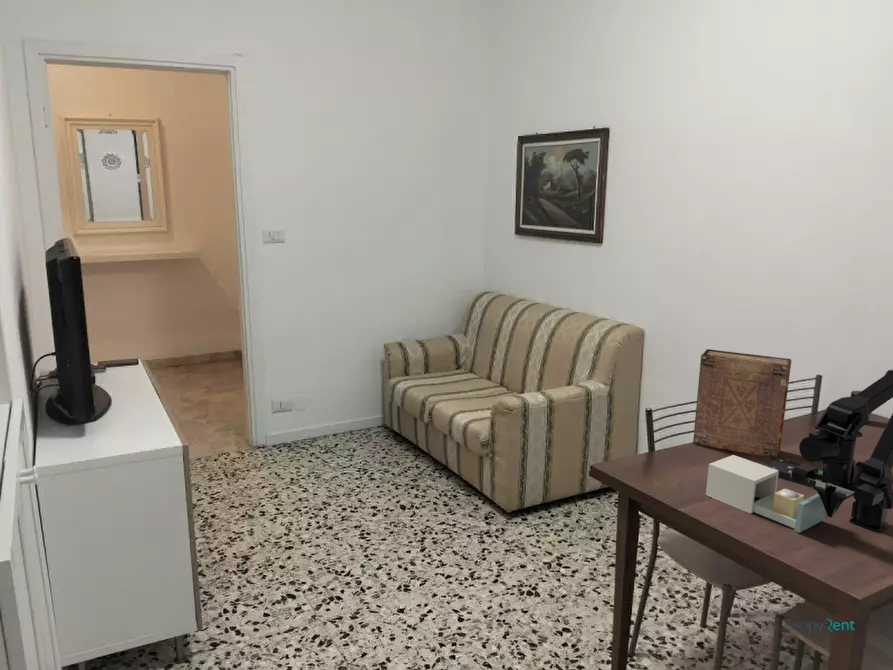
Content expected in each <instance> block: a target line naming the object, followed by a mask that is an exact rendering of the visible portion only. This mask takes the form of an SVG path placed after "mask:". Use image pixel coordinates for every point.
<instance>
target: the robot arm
mask: <svg viewBox="0 0 893 670" xmlns="http://www.w3.org/2000/svg"><path fill="white" fill-rule="evenodd" d="M860 391H861V392H860V393H858V394H857V395H855V396H851V395H850V396H851V397H850V396H844V397H840V398H839V399H835V400H834V401H832V402H831V403H829V404H828V406H827V407H826V408H825V410H824V412H823V413H822V415H821V416H820V417H819V419H818V421H817V423H816V424H815V426H814V429H815V430H817V431H814V430H813V431H810V432H809V433H808V436H806V437H803V439H801V441H800V443H799V445H798V447H799V449H798V450H799V453H800V455H801V457H802V458H803V459H804V460H806V461H807V462H809V463H816V462H821V463H822V464H823V469H822V470H823V474H820V473H818V472H819V470H818V469H819V468H818V467H816V466H813V465H810V464H807V463H805V462H804V463H800V464H801V465H798V466H796V467H794V468H792V470H791V475H790V477H791V478H792V479H794V480H797V481H800V482H803V481H805V480H807V478H809V479H812V480H815V481H816V485H815V486H814V488H813V490H815V491H816V492H817V494H819V496H820V498H821V500H822V502H823V505H824V508H825V510H824V511H825V512H826V516H827V517H828V518H831V519H832V518H834V516H835V515H836V513H837V511H838V510H839V508H840V506H841V505H842V504H843V502H844V501H846V500H847V499H850V498H852V497H853V499H854V501H852V506H851V507H852V508H851V515H850V516H851V518H849V522H850V523H852V524H855V525H857V526H861V527H863V528H865V529H868V530H871V531H874V532H877V533H878V532H879V531H881V530H882V528H883V529H884V528H885V526H886V527H887V526H888V525H889V523H888V522H887V515H888V511H889V510H892V509H893V489H892V487H893V471H892V469H893V412H892V414H891V416H890V418H889V419H888V421H887V423H886V425H885V427H884V430H883V431H882V433H881V435H880V437H879V439H878V441H877V442H876V445H875V447H874V449H873V451H872V453H871V455H870V457H869V458H868V459H866V460H864V461H860V460H858V461H857V462H856V459H854V458H855V457H854V456H855V450H856V444H857V443H856V442H857V439H858V438H862V437H863V435H864V434H863V433H862V432H861V431H860V430H861V429H862V428H863V427H864V426H865V425H866V424H868V423H869V421H870V416H871V414H872V413H873V412H874V411H875V410H877V409H879V408H880V407H881V406H883V405H884V404H885V403H887V402H888V401H889V400H891V399H892V398H893V369H889V370H887V371H885V374H884V375H883V376H882V377H880V378H879V379H877V380H876V381H875V382H873V383H872V384H870V385H869V386H867V387H866V388H864V389H863V390H860ZM867 422H868V423H867ZM829 424H830V425H829Z"/></svg>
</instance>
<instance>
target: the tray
mask: <svg viewBox="0 0 893 670" xmlns="http://www.w3.org/2000/svg"><path fill="white" fill-rule="evenodd" d="M773 500H774V496H773V495H769V496H766V497H764V498H762V499H761V498H759V499H758V500H754V506H753V513H755V514H757V515H761V516H762V517H765V518H767V519H771V520H773V521H775V522H777V523H780V524H782V525H785V526H787V527H789V528H792V529H794V531H795V532H796V533H799V534H800V533H802V532H804V531H806V530H808V529H809V528H811V527H814V526H815V525H817V524H818V523H820V522H823V520H824V515H825V511H826V510H825V508H824V505H823V502H822V500H821V498H820V496H819V494H818V493H816V494H814V495H812V496H810V497H808V498H806V499H804V501H802V502H800V503H798V509H797V516H796V517H795V518H793V519H792V518H790V517H787V516H785V515H782V514H780V513H777V512H775V511H772V508H773Z"/></svg>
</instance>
